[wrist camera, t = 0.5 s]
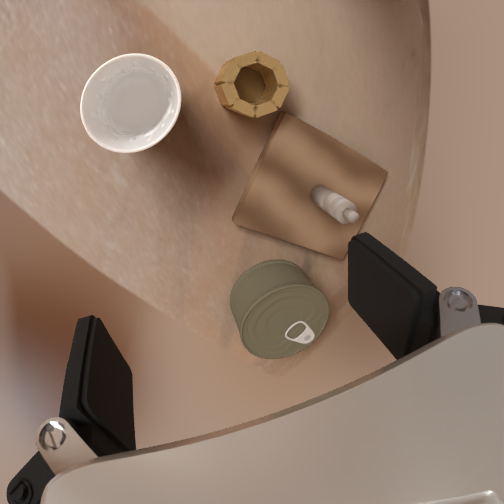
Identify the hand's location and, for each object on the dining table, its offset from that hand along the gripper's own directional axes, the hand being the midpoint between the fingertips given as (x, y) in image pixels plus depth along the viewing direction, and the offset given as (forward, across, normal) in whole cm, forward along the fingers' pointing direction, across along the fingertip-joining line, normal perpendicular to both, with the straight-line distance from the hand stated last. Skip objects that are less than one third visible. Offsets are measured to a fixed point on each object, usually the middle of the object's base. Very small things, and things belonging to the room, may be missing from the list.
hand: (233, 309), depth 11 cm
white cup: (+26, +3, -8) cm, 28 cm away
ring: (+26, -9, -7) cm, 28 cm away
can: (+26, -7, +21) cm, 35 cm away
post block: (+26, -15, +7) cm, 31 cm away
